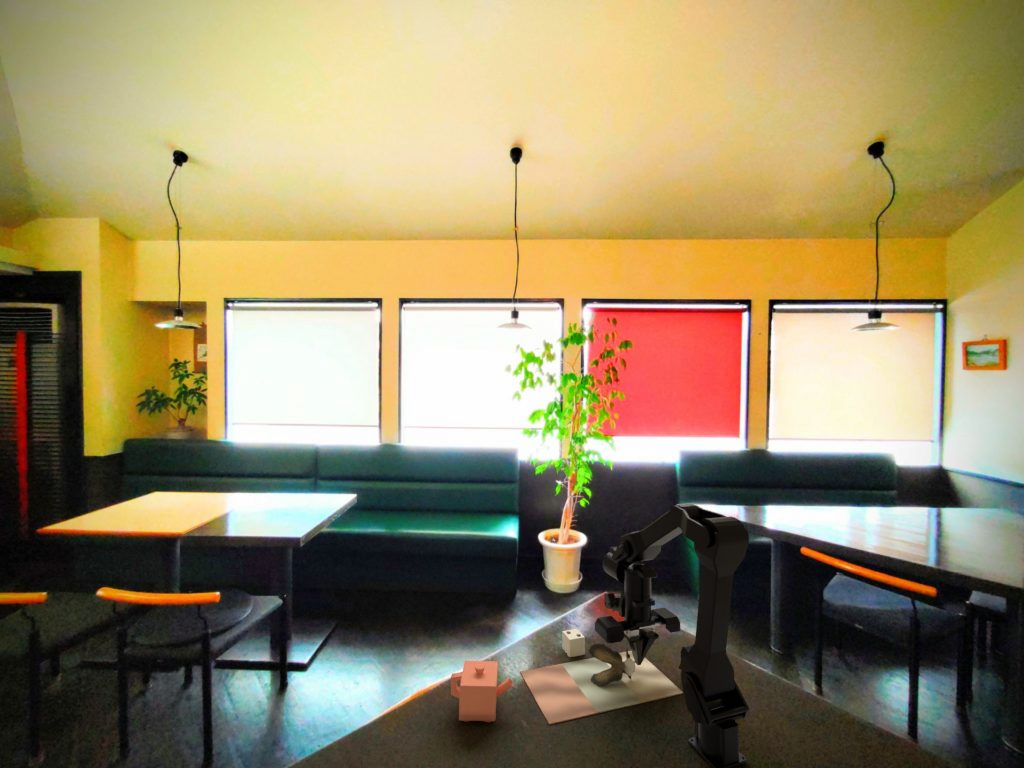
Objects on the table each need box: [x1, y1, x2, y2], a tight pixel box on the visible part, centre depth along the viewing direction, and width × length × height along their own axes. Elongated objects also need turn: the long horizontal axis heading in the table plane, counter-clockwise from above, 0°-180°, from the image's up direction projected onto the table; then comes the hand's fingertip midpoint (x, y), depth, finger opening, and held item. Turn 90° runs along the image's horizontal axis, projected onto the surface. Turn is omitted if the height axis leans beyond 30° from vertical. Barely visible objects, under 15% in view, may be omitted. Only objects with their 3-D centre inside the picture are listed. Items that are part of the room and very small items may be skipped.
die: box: [561, 628, 586, 658], centre depth 100 cm, size 4×4×4 cm
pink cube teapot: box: [450, 660, 515, 723], centre depth 79 cm, size 8×12×8 cm, turn 90°
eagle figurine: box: [587, 643, 635, 686], centre depth 89 cm, size 8×7×9 cm
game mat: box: [519, 650, 684, 726], centre depth 88 cm, size 16×30×1 cm, turn 108°
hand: (637, 664), depth 91 cm, fingers closed
